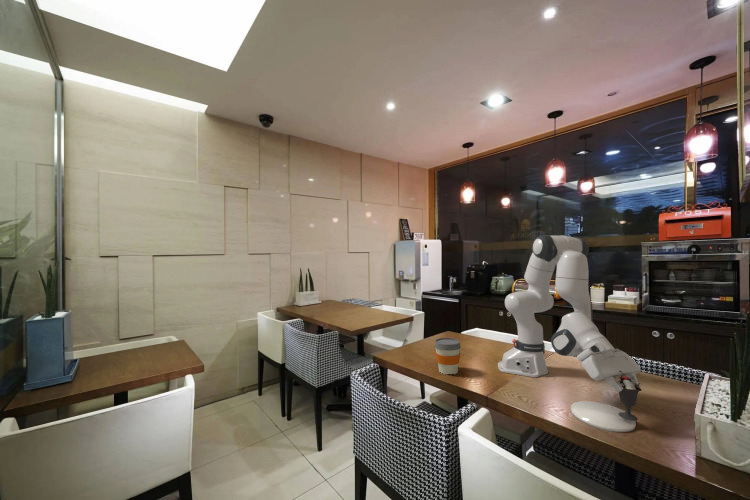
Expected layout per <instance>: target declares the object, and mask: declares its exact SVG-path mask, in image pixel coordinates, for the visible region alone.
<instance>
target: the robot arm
mask: <svg viewBox="0 0 750 500" xmlns="http://www.w3.org/2000/svg"><path fill="white" fill-rule="evenodd" d="M589 246H590V245H589V244H588V242H587V241H586V240H585V239H583V238H580V237H575V236H574V237H573V236H568V235H549V234H544V235H538V236H537V237H535V239H534V240H533V242H532V247H531V250H532V253H531V255H530V257H529V261H528V264H527V266H526V270H525V272H524V275H523V279H524V281H525V282H526V284H528V285H527V286H528V289H526V290H523V291H515V292H511V293H509V294H508V295H506V296H505V299H504V306H505V308H506V310H507V311H508V312H509V313H510V314H511V315H512V317H513V318H514V320H515V321H516V328H517V339H516V338H513V339H512V340H511V341H512V344H513V347H512V348H511V349H509V350H507V351H506V352H504V353H503V355H502V359H501V360H500V361H498V363H497V368H498V370H499V371H500V372H502V373H507V374H511V375H512V374H513V375H517V376H518V375H519V376H523V377H529V378H530V377H531V378H538V377H540V376H545V375H548V374H549V370H548V367H547V364H546V359H545V357H546V356H545V354H546V353H545V352H546V346H545V342H544V331H543V330H544V329H543V325H542V323H540V322H538V321H537V319H536V317H535V314H536V313H544V312H546V311H548V310H551V309H552V308H553V307H554V304H555V303H554V302H555V301H554V297H553V296H552V294H551V293H550V283H551V280H552V277H553V275H554V271H555V268H556V273H555V283H554V284H555V286H554V287H555V290H556V293H557V294H558V295H559V297H560V298H561V299H563V300H565V301H566V302H567V303H569V304H570V305H571V306H572V308H573V311H572V312H568V313H566V314H564V315H563V316H562V318H561V323H560V325H559V327H558V329H557V330H556V332H554V334H553V335H552V336H551V337H550V338H551V339H550V344H551V347H552V348H553V350H554V351H555V353H556V354H558V355H560V356H562V357H576V358H577V360H578V361H579V362H581V365H582V367H583V368H584V370H585V371H586V373H587V374H588V376H589V377H590V378H591V379H593V381H596V382H597V381H605V382H606V383H607V384H608V385H610V386H611V387H612V388H614V390H615V391H616V392H617V393H619V392H621V391H623V390H624V388H623V387H622V386H621V384H620V385H619V384H618V383H617V382H616V381H615V379H616V378H620V377H621V376H622V377H625V376H626V377H628V378H630V379H632V380H633V381H634V382H635V385H637V384H639V383H640V382H639V381H638V377H637V374H638V373H639V372H641V367H640V366H639V364H638V363H637V362H636V361H635V360H634V359H633V357H631V356H630V355H629V354H627V352H626V351H625V352H624V351H623V350H621V349H619V348H615V347H614V346H613V345H612V344H611V342H610V341H609V340H608V339H607V338H606V336H605V335H603V334H602V333H601V332H600V331H599V328H598V327H597V326H596V324H595V323H594V317H593V316H594V315H593V313H594V312H593V304H592V303H593V302H592V298H591V295H590V291H589V276H590V275H589V272H590V271H589V264H588V258H587V256H588V254H589V251H590V247H589ZM619 371H622V372H623V373H624V374H623V373H622V372H619ZM641 387H642V385H641V384H640V385H639V388H640V389H641Z"/></svg>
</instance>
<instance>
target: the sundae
mask: <svg viewBox="0 0 750 500" xmlns="http://www.w3.org/2000/svg"><path fill="white" fill-rule="evenodd" d="M619 372H622V371H619ZM622 373H623V372H622ZM623 374H624V373H623ZM616 383H618V384H619V385H620V384H621V386H622V387H623V388H624V390H623V391H621V392H618V396H619V400H620V402H621V403H622V405H624V406H625V410H624V411H625V412H620V413H619V416H621V417H622V418H624V419H627V420H631V421H635V422H637V421H638V417H637V416H635V415H633V414H632V413H631V408H632V407H634V406H636V404H637V402H638V401H637V400H638V395H639V392H641V391H643V389H642V388H641V387H640V388H639V385H641V383H640V382H638V383H639V384H637V385H635V382H634V381H633V380H632V379H630V378H628V377H627V376H621V377H619V379H618V380H617V382H616Z"/></svg>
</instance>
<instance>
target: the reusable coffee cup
mask: <svg viewBox="0 0 750 500" xmlns="http://www.w3.org/2000/svg"><path fill="white" fill-rule="evenodd" d="M434 348H435V358H436V362H437V365H438V372H439V373H440V372H441V373H440V374H442V373H443V374H442V375H445V374H454V375H456V374H458V371H459V363H460V360H461V359H460V358H461V352H460V351H461V350H460V349H461V342H460V340H459V339H457V338H453V337H440V338H436V339H435V340H434Z"/></svg>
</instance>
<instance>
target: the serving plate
mask: <svg viewBox="0 0 750 500" xmlns="http://www.w3.org/2000/svg"><path fill="white" fill-rule="evenodd" d="M570 412H571V414H572V416H573V417H575V418H576V419H577V420H579V421H580V422H582V423H583V422H584V424H585V423H586V425H588V426H590V427H593V428H597V429H598V430H603V431H607V432H614V433H627V432H632V431H634V430H635V429H636V425H637V421H631V420H627V419H624V418H622V417H621V416H619V413H620V412H625V410H623V409H621V408H618V407H616V406H613V405H611V404H607V403H602V402H598V401H591V400H581V401H576V402H573V403H572V404H571V406H570Z"/></svg>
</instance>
